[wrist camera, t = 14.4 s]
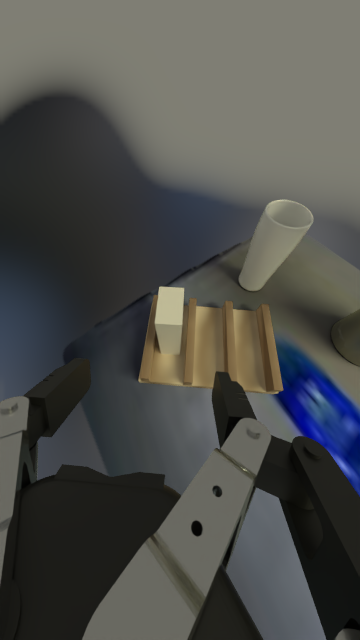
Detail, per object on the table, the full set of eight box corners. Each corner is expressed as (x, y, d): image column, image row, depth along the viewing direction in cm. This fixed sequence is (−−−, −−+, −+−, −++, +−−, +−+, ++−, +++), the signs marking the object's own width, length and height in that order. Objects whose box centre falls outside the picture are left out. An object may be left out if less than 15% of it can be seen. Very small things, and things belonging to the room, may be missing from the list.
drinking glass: (241, 265, 41) (273, 193, 28) (270, 278, 40) (319, 209, 26) (229, 286, 38) (257, 217, 25) (259, 300, 37) (307, 235, 24)
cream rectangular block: (181, 327, 32) (184, 288, 22) (179, 355, 30) (182, 325, 20) (163, 326, 32) (159, 286, 22) (161, 354, 30) (154, 323, 20)
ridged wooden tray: (262, 315, 35) (272, 304, 32) (273, 394, 29) (287, 391, 25) (153, 306, 36) (150, 294, 32) (139, 382, 29) (135, 377, 26)
